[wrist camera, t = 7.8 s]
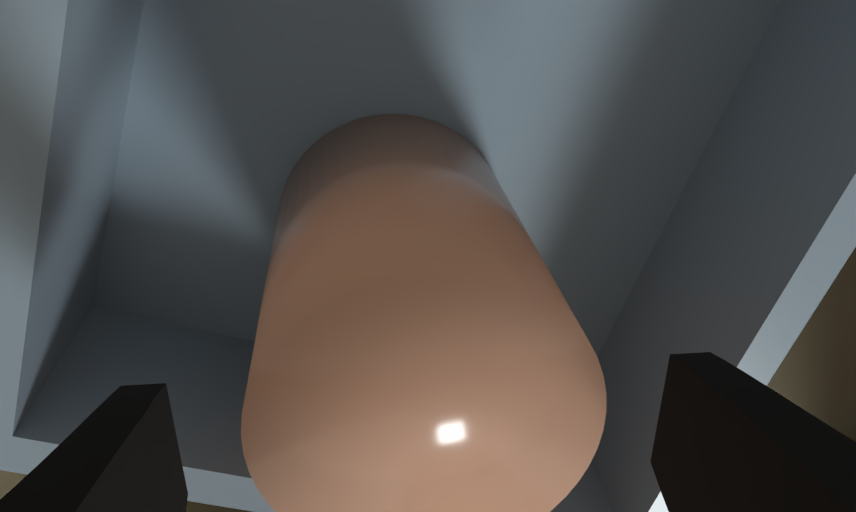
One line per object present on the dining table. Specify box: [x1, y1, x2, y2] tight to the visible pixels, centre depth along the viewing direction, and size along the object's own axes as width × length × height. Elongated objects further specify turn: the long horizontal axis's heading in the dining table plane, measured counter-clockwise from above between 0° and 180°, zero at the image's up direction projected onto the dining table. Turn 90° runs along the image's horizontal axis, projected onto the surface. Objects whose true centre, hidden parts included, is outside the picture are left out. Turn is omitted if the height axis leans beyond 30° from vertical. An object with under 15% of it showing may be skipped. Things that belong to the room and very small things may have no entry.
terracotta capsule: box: [241, 114, 606, 512], centre depth 13 cm, size 5×5×7 cm
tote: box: [0, 0, 856, 512], centre depth 13 cm, size 18×14×5 cm
